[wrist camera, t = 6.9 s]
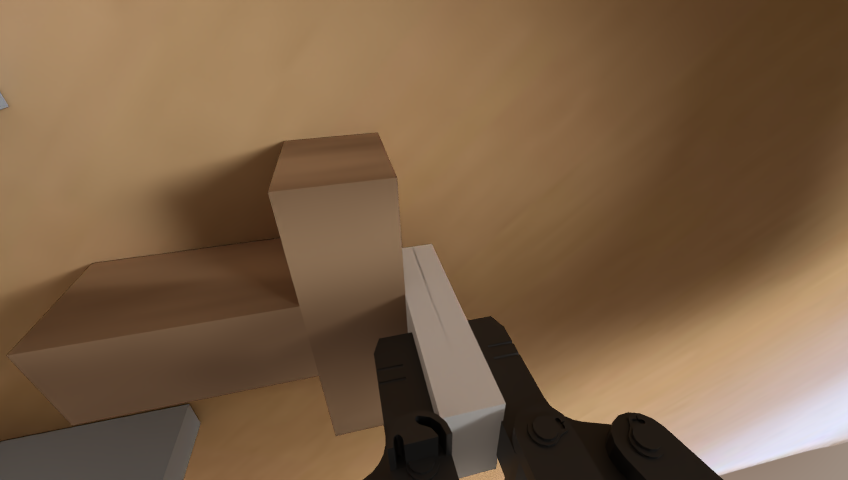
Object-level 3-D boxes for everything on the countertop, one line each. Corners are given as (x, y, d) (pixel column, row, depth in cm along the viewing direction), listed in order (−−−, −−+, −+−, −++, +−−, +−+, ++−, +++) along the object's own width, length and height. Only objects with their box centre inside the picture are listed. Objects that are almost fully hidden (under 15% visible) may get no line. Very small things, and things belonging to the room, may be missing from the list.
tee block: (397, 341, 18) (414, 417, 14) (169, 385, 16) (127, 484, 12) (377, 132, 12) (396, 177, 9) (29, 164, 10) (-109, 234, 7)
